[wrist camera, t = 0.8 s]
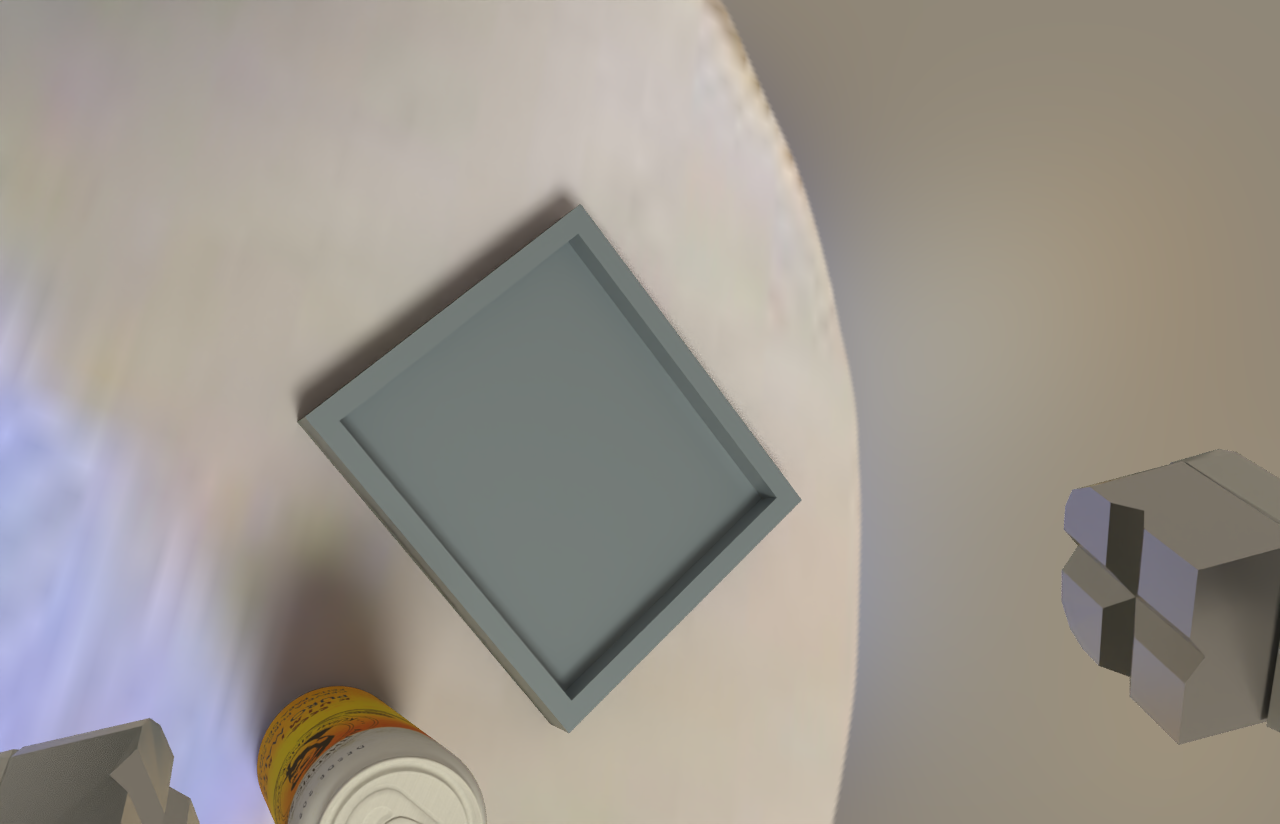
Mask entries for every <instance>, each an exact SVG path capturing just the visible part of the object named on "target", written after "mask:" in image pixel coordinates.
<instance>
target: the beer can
mask: <svg viewBox="0 0 1280 824" xmlns="http://www.w3.org/2000/svg"><path fill="white" fill-rule="evenodd" d="M257 774H258V781H259V785H260V789H261V792H262V794H263V797H264V799H265V801H266V804H267V806H268V808H269V810H270V813H271V815H272V817H273V820H274V822H275V824H487V816H486V809H485V803H484V799H483V796H482V793H481V790H480V788H479V785H478V783H477V782H476V780H475V778H474V776H473V775H472V773H471V772H470V770H469V769H468V768H467V766H466V765H465V764H464V763H463V762H462V761H461V760H460V759H459V758H457V757H456V756H455V755H454V754H453V753H451V752H450V751H449V750H447V749H446V748H444V747H443V746H442V745H440V744H439V743H438V742H436V741H435V740H434V739H432V738H431V737H430V736H428V735H427V734H425V733H424V732H423V731H421V730H420V729H419V728H417V727H416V726H415V725H413V724H412V723H411V722H409V721H408V720H407V719H405V718H404V717H402V716H401V715H400V714H398V713H397V712H396V711H394V710H393V709H392V708H390V707H389V706H388V705H386V704H385V703H384V702H382V701H381V700H379V699H378V698H377V697H375V696H373V695H372V694H370V693H368V692H365V691H363V690H360V689H357V688H352V687H346V686H330V687H324V688H320V689H316V690H313V691H311V692H308V693H306V694H304V695H302V696H300V697H298V698H297V699H295V700H294V701H292V702H291V703H290V704H288V705H287V706H286V707H285V708H284V709H283V710H282V711H281V712H280V713H279V714H278V715H277V716H276V717H275V719H274V720H273V721H272V723H271V724H270V726H269V728H268V729H267V731H266V733H265V735H264V737H263V740H262V743H261V746H260V750H259V754H258V762H257Z"/></svg>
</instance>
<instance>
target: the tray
mask: <svg viewBox="0 0 1280 824" xmlns="http://www.w3.org/2000/svg"><path fill="white" fill-rule="evenodd" d="M298 423H299V424H300V426H301V427H302V428H303V429H304V430H305V432H306V433H307V434H308V435H309V436H310V437H311V439H312V440H313V441H314V442H315V443H316V445H317V446H318V447H319V448H320V449H321V451H322V452H323V453H324V454H325V455H326V457H327V458H328V459H329V460H330V461H331V463H332V464H333V465H334V466H335V467H336V469H337V470H338V471H339V472H340V473H341V474H342V476H343V477H344V478H345V479H346V480H347V482H348V483H349V484H350V485H351V486H352V488H353V489H354V490H355V491H356V492H357V494H358V495H359V496H360V497H361V498H362V500H363V501H364V502H365V503H366V504H367V506H368V507H369V508H370V509H371V510H372V511H373V513H374V514H375V515H376V516H377V517H378V519H379V520H380V521H381V522H382V523H383V525H384V526H385V527H386V528H387V529H388V531H389V532H390V533H391V534H392V535H393V537H394V538H395V539H396V540H397V541H398V543H399V544H400V545H401V546H402V547H403V548H404V550H405V551H406V552H407V553H408V554H409V556H410V557H411V558H412V559H413V560H414V562H415V563H416V564H417V565H418V566H419V568H420V569H421V570H422V571H423V572H424V574H425V575H426V576H427V577H428V578H429V580H430V581H431V582H432V583H433V584H434V585H435V587H436V588H437V589H438V590H439V591H440V593H441V594H442V595H443V596H444V597H445V599H446V600H447V601H448V602H449V603H450V605H451V606H452V607H453V608H454V609H455V611H456V612H457V613H458V614H459V615H460V616H461V618H462V619H463V620H464V621H465V622H466V624H467V625H468V626H469V627H470V628H471V630H472V631H473V632H474V633H475V634H476V636H477V637H478V638H479V639H480V640H481V642H482V643H483V644H484V645H485V646H486V648H487V649H488V650H489V651H490V652H491V653H492V655H493V656H494V657H495V658H496V659H497V661H498V662H499V663H500V664H501V665H502V667H503V668H504V669H505V670H506V671H507V673H508V674H509V675H510V676H511V677H512V679H513V680H514V681H515V682H516V683H517V685H518V686H519V687H520V688H521V689H522V690H523V692H524V693H525V694H526V695H527V696H528V698H529V699H530V700H531V701H532V702H533V704H534V705H535V706H536V707H537V708H538V710H539V711H540V712H541V713H542V714H543V716H544V717H545V718H546V719H547V720H548V722H549V723H550V724H551V725H553V726H555V727H557V728H559V729H562V730H564V731H566V732H568V733H570V732H571V731H572V730H573V729H574V728H575V727H576V726H577V725H578V724H579V723H580V722H581V721H582V720H583V719H584V718H585V717H586V716H587V715H588V714H589V713H590V712H591V711H592V710H593V709H594V708H595V707H596V706H597V705H598V704H599V703H600V702H601V701H602V700H603V699H604V698H605V697H606V696H607V695H608V694H609V693H610V692H611V691H612V690H613V689H614V688H615V687H616V686H617V685H618V684H619V683H620V682H621V681H622V680H623V679H624V678H625V677H626V676H627V675H628V674H629V673H630V672H631V671H632V670H633V669H634V668H635V667H636V666H637V665H638V664H639V663H640V662H641V661H642V660H643V659H644V658H645V657H646V656H647V655H648V654H649V653H650V652H651V651H652V650H653V649H654V648H655V647H656V646H657V645H658V644H659V643H660V642H661V641H662V640H663V639H664V638H665V637H666V636H667V635H668V634H669V633H670V632H671V631H672V630H673V629H674V628H675V627H676V626H677V625H678V624H679V623H680V622H681V621H682V620H683V619H684V618H685V617H686V616H687V615H688V614H689V613H690V612H691V611H692V610H693V609H694V608H695V607H696V606H697V605H698V604H699V603H700V602H701V601H702V600H703V599H704V598H705V597H706V596H707V595H708V594H709V593H710V592H711V591H712V590H713V589H714V588H715V587H716V586H717V585H718V584H719V583H720V582H721V581H722V580H723V579H724V578H725V577H726V576H727V575H728V574H729V573H730V572H731V571H732V570H733V569H734V568H735V567H736V565H737V564H738V563H739V562H740V561H741V560H742V559H743V558H744V557H745V556H746V555H747V554H748V553H749V552H750V551H751V550H752V549H753V548H754V547H755V546H756V545H757V544H758V543H759V542H760V541H761V540H762V539H763V538H764V537H765V536H766V535H767V534H768V533H769V532H770V531H771V530H772V529H773V528H774V527H775V526H776V525H777V524H778V523H779V522H780V521H781V520H782V519H783V518H784V517H785V516H786V515H787V514H788V513H789V512H790V511H791V510H792V509H793V508H794V507H795V506H796V505H797V504H798V503H799V502H800V501H801V498H800V497H799V496H798V494H797V493H796V492H795V490H794V489H793V488H792V486H791V485H790V484H789V482H788V481H787V480H786V478H785V477H784V476H783V474H782V473H781V472H780V470H779V469H778V468H777V466H776V465H775V464H774V462H773V461H772V460H771V458H770V457H769V456H768V454H767V453H766V452H765V450H764V449H763V448H762V446H761V445H760V444H759V442H758V441H757V440H756V438H755V437H754V436H753V434H752V433H751V432H750V430H749V429H748V428H747V426H746V425H745V423H744V422H743V421H742V419H741V418H740V417H739V415H738V414H737V413H736V411H735V410H734V409H733V407H732V406H731V405H730V403H729V402H728V401H727V399H726V398H725V397H724V395H723V394H722V393H721V391H720V390H719V389H718V387H717V386H716V385H715V383H714V382H713V381H712V379H711V378H710V377H709V375H708V374H707V373H706V371H705V370H704V369H703V367H702V366H701V365H700V363H699V362H698V361H697V359H696V358H695V357H694V355H693V354H692V353H691V351H690V350H689V349H688V347H687V346H686V345H685V343H684V342H683V341H682V339H681V338H680V337H679V335H678V334H677V333H676V331H675V330H674V328H673V327H672V326H671V324H670V323H669V322H668V320H667V319H666V318H665V316H664V315H663V314H662V312H661V311H660V310H659V308H658V307H657V306H656V304H655V303H654V302H653V300H652V299H651V298H650V296H649V295H648V294H647V292H646V291H645V290H644V288H643V287H642V286H641V284H640V283H639V282H638V280H637V279H636V278H635V276H634V275H633V274H632V272H631V271H630V270H629V268H628V267H627V266H626V264H625V263H624V262H623V260H622V259H621V258H620V256H619V255H618V254H617V252H616V251H615V250H614V248H613V247H612V246H611V244H610V243H609V242H608V240H607V239H606V238H605V236H604V235H603V233H602V232H601V231H600V229H599V228H598V227H597V225H596V224H595V223H594V221H593V220H592V219H591V217H590V216H589V215H588V213H587V212H586V211H585V209H584V208H583V207H582V205H581V204H580V205H579V206H577V207H576V208H575V209H573V210H572V211H571V212H569V213H568V214H566V215H565V216H564V217H562V218H561V219H560V220H559V221H557V222H556V223H555V224H553V225H552V226H551V227H549V228H548V229H547V230H546V231H544V232H543V233H542V234H540V235H539V236H538V237H537V238H535V239H534V240H533V241H531V242H530V243H529V244H527V245H526V246H525V247H524V248H522V249H521V250H520V251H518V252H517V253H516V254H515V255H513V256H512V257H511V258H509V259H508V260H507V261H505V262H504V263H503V264H502V265H500V266H499V267H498V268H496V269H495V270H494V271H492V272H491V273H490V274H489V275H487V276H486V277H485V278H483V279H482V280H481V281H480V282H478V283H477V284H476V285H474V286H473V287H472V288H470V289H469V290H468V291H467V292H465V293H464V294H463V295H461V296H460V297H459V298H458V299H456V300H455V301H454V302H452V303H451V304H450V305H448V306H447V307H446V308H445V309H443V310H442V311H441V312H439V313H438V314H437V315H435V316H434V317H433V318H432V319H430V320H429V321H428V322H426V323H425V324H424V325H423V326H421V327H420V328H419V329H417V330H416V331H415V332H413V333H412V334H411V335H410V336H408V337H407V338H406V339H404V340H403V341H402V342H401V343H399V344H398V345H397V346H395V347H394V348H393V349H391V350H390V351H389V352H388V353H386V354H385V355H384V356H382V357H381V358H380V359H379V360H377V361H376V362H375V363H373V364H372V365H371V366H369V367H368V368H367V369H366V370H364V371H363V372H362V373H360V374H359V375H358V376H356V377H355V378H354V379H353V380H351V381H350V382H349V383H347V384H346V385H345V386H344V387H342V388H341V389H340V390H338V391H337V392H336V393H334V394H333V395H332V396H331V397H329V398H328V399H327V400H325V401H324V402H323V403H322V404H320V405H319V406H318V407H316V408H315V409H314V410H312V411H311V412H310V413H309V414H307V415H306V416H305V417H303V418H302V419H301V420H299V421H298Z"/></svg>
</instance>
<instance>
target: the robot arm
mask: <svg viewBox="0 0 1280 824" xmlns="http://www.w3.org/2000/svg"><path fill="white" fill-rule="evenodd" d="M1064 530H1065V531H1066V533H1067V534H1068V535H1069V536H1070V537H1071V538H1072V540H1073V541H1074V542H1075V543H1076V544H1077V545H1078V546H1077V548H1076V549H1075V551H1074V552H1073V554H1072V556H1071V557H1070V559H1069V560H1068V562H1067V563H1066V565H1065V566H1064V568H1063V569H1062V604H1063V607H1064V610H1065V613H1066V617H1067V620H1068V623H1069V626H1070V629H1071V631H1072V632H1073V634H1074V636H1075V637H1076V639H1077V641H1078V642H1079V644H1080V645H1081V647H1082V649H1083V650H1084V651H1085V652H1086V653H1087V654H1088V655H1089V656H1090V657H1091V658H1092V659H1093V660H1094V661H1095V662H1096V663H1097V664H1098V665H1099V666H1101V667H1104V668H1106V669H1109V670H1112V671H1115V672H1118V673H1120V674H1123V675H1126V676H1129V677H1130V697H1131V698H1132V699H1133V700H1134V701H1135V702H1136V703H1137V704H1138V705H1139V706H1140V707H1141V708H1142V709H1143V710H1144V711H1145V712H1146V713H1147V714H1148V715H1149V716H1150V717H1151V718H1152V719H1153V720H1154V721H1155V722H1156V723H1157V724H1158V725H1159V726H1160V727H1161V728H1162V729H1163V730H1164V731H1165V732H1166V733H1167V734H1168V735H1169V736H1170V737H1171V738H1172V739H1173V740H1174V741H1175V742H1176V743H1177V744H1183V743H1187V742H1191V741H1194V740H1198V739H1202V738H1205V737H1209V736H1213V735H1217V734H1221V733H1224V732H1228V731H1232V730H1236V729H1239V728H1243V727H1247V726H1251V725H1255V724H1259V723H1263V722H1266V721H1267V727H1270V728H1272V729H1274V730H1276V731H1278V732H1280V478H1278V477H1277V476H1275V475H1273V474H1272V473H1270V472H1268V471H1267V470H1265V469H1264V468H1262V467H1260V466H1258V465H1257V464H1255V463H1254V462H1252V461H1250V460H1249V459H1247V458H1245V457H1244V456H1242V455H1241V454H1239V453H1237V452H1234V451H1228V450H1222V449H1217V450H1213V451H1210V452H1206V453H1203V454H1199V455H1196V456H1193V457H1189V458H1185V459H1182V460H1178V461H1175V462H1171V463H1170V464H1169V465H1165V466H1162V467H1158V468H1154V469H1150V470H1146V471H1143V472H1139V473H1135V474H1131V475H1127V476H1123V477H1119V478H1116V479H1112V480H1108V481H1104V482H1100V483H1096V484H1093V485H1089V486H1085V487H1081V488H1077V489H1074V490H1072V492H1071V494H1070V497H1069V499H1068V501H1067V504H1066V507H1065V520H1064ZM173 760H174V756H173V753H172V751H171V749H170V747H169V744H168V742H167V740H166V737H165V735H164V733H163V730H162V728H161V726H160V725H159V724H158V723H156V722H155V721H153V720H152V719H150V718H148V719H144V720H139V721H135V722H131V723H126V724H122V725H118V726H113V727H109V728H104V729H100V730H96V731H91V732H87V733H82V734H78V735H74V736H69V737H65V738H61V739H56V740H52V741H47V742H43V743H39V744H34V745H30V746H25V747H22V748H21V749H20V750H14V749H12V750H8V751H4V752H0V824H200V823H199V820H198V817H197V815H196V812H195V809H194V807H193V804H192V801H191V799H190V798H189V797H187V796H185V795H183V794H182V793H180V792H178V791H176V790H174V789H173V788H171V787H169V784H170V778H171V772H172V766H173Z"/></svg>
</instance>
